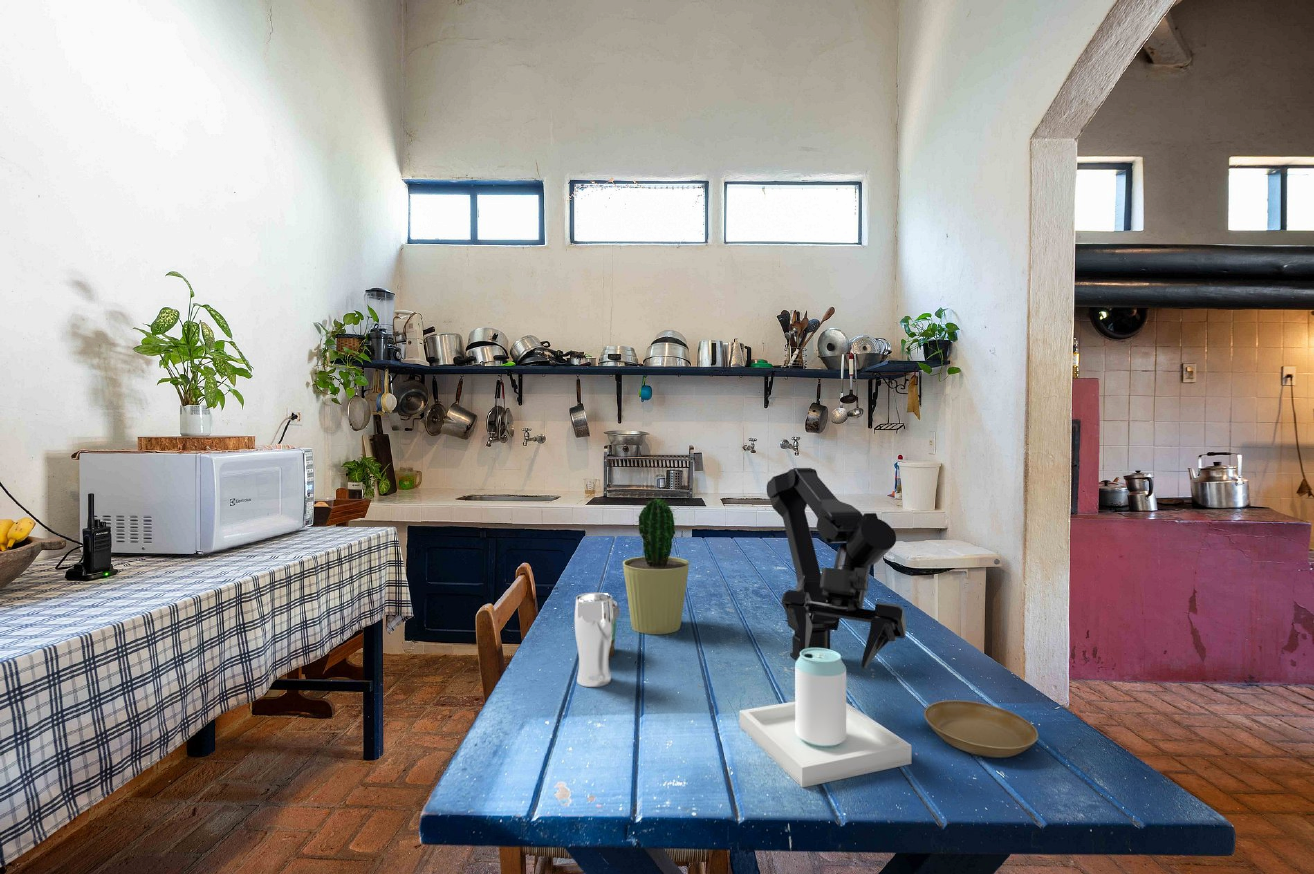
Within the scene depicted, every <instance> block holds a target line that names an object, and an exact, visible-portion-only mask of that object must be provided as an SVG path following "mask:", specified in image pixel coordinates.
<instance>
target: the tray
mask: <svg viewBox="0 0 1314 874" xmlns="http://www.w3.org/2000/svg"><path fill="white" fill-rule="evenodd" d="M738 713H739V719H738V720H739V722H738V723H739V724H738V725H739V726H740V727H741V728H742V729H743V730H744V731H746V733H747V734H748V735H749V736H750V737H751V738H752V739H751V738H750V737H749V736H748V735H747V734H746V733H745V734H746V735H747V736H748V737H749V738H750V739H751V740H752V741H753V742H754V743H755V744H756V745H757V746H759V748H760V749H761V750H762V751H763V752H765V753H766V754H767V756H769V757H770V758H771V759H772V760H773V761H774V762H775V763H776V764H777V765H778V766H779V767H780V768H781V769H783V771H784V772H785V773H786V774H788V776H790V777H791V778H792V780H794V781H795V782H796V783H797V784H798V786H800V787H801V788H807V787H811V786H817V785H820V784H826V783H830V782H834V781H838V780H842V779H843V780H844V779H848V778H853V777H857V776H862V775H867V774H871V773H875V772H880V771H885V770H889V769H895V768H897V767H904V766H908V765H912V744H910V743H908V742H907V741H906V740H904V739H903V738H901V737H899V736H898V735H896V734H895V733H894V732H892V731H890V730H889V729H887V728H886V727H884V726H883V725H881V724H880V723H878V722H877V721H876V720H874V719H873V718H871V717H869V716H868V715H866V714H865V713H863V712H862V711H860V710H858V709H857V708H855V707H854V706H852V705H851V704H849V703H848V702H846V739H845V740H844V741H843V742H842V743H840V744H838V745H837V746H834V747H829V748H823V747H816V746H812V745H810V744H808V743H806V742H804V741H803V740H802V739H801V738H800V737H799V736H798V735H797V734H796V732H795V701H789V702H784V703H778V704H771V705H765V706H759V707H754V708H747V709H741V710H739V712H738ZM740 727H739V728H740ZM741 728H740V729H741ZM742 729H741V730H742ZM743 730H742V731H743ZM744 731H743V732H744Z"/></svg>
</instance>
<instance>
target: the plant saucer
mask: <svg viewBox="0 0 1314 874" xmlns="http://www.w3.org/2000/svg"><path fill="white" fill-rule="evenodd" d="M923 716H924V718H925V720H926V722H927V723H928V725H929V726H930V728H931V729H932V730H933V731H934V732H935V734H937V735H938V736H939V737H940V738H941V739H942V740H943V741H944V742H945V743H947V744H949V745H950V746H952V747H954V748H956V749H958V750H960V751H964V752H966V753H969V754H973V755H976V756H980V757H981V756H982V757H986V758H999V759H1000V758H1011V757H1013V756H1017V755H1019V754H1021V753H1023V752H1024V751H1026V750H1028V749H1029V748H1030V747H1032V746H1033V745H1034V744H1035V743H1036V742H1037V740H1038V739H1039V733H1038V730H1037V728H1036V727H1035V726H1034V725H1033V724H1032V723H1031V722H1030V721H1028V720H1026V719H1025V718H1023V717H1022V716H1021V715H1018V714H1017V713H1014V712H1012V711H1009V710H1007V709H1004V708H1001V707H998V706H994V705H991V704H986V703H981V702H976V701H971V700H970V701H969V700H957V699H956V700H942V701H937V702H933V703H931V704H929V705H928V706H927V707H925V709H924V712H923Z"/></svg>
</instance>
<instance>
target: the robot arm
mask: <svg viewBox="0 0 1314 874" xmlns="http://www.w3.org/2000/svg"><path fill="white" fill-rule="evenodd" d="M766 495H767V497H768V498H769V501H770V503H771V507H772V509H773V510H774V511H775V512H776V513H778V515H779V516H781V517H782V520H783V525H784V530H785V534H786V538H787V542H788V546H789V547H788V548H789V551H790V555H791V559H792V563H793V568H794V571H795V577H796V580H797V585H796V588H795V589H794V590H792V589H788V590H787V591H786V592H784V593H783V595H782V599H781V606H782V607H783V609H784V612H785V615H786V620H787V626H788V627H789V628H791V629H792V630H793V631H794V632H793V633H794V635H792V652H789V656H790V657H791V658H793V659H795V661H797V660H798V658H799V657H800V652H801V651H802V650H804V649H807V648H825V649H830V650H831V631H838V629H839V623H840V621H841V620H840V619H845V620H850V621H857V622H864V623H870V627H869V633H868V637H867V641H866V644H865V647H864V651H863V654H862V658H861V659H862V661H861V668H862V670H867V668H868V667H869V665H870V664H871V663H872V661H873V660H874V658H875V657H876V656H877V654H878V653H879V652H880V651H881V650H882V649H883V648H884V647H885V646H886V645H887V644H888V643H889V642H893V643H894V642H896V640H897V639H905V638H906V635H907V620H906V619H907V618H906V615H905V611H904V609H903V607H902V606H901V604H895V603H894V604H893V603H887V602H880V601H877V602H876V603H875V606H874V609H868V608H864V603H865V598H866V597H867V591H868V589H869V580H870V579H869V576H870V571H871V566H872V565H875V564H877V563H878V562H879V561H881V559H883V557H884V556H885V555H886V554H887V553H889V552H890V550H891V549H892V548H893V547H894V546H895V544H896V542H897V534H896V532H895V530H894V529H893V528H892V527H891V526H890V525H889V523H888V522H886V521H884V520H882V519H881V518H879V517H878V515H877V513H876V512H868V513H867V512H865V513H863V514H862V513H861V511H860V510H858V509H857V508H856V507H854V505H851V504H849V503H846V502H843V501H840V500H839V499H838V498H837V497H836V496H835V494H834V493H832V491H831V489H829V488H828V487H827V485H826V484H825V483H824V482H823V480H821V478H820V477H819V476H818V472H817V470H816V469H814V468H812V467H793V468H792V469H791V468H790V469H789V470H788V471H787V472H784V473H783V472H782V473H781V474H778V475H775V476H772V477H771V479H770V480H768V482H767V483H766ZM807 506H808V508H810V509H811V511H812V512H813V514H814V515H815V517H816V519H817V522H816V529H817V531H818V534H819V535H820V537H821V538H822V540H823V541H824V542H825V543H827V544H840V543H841V545H839V546H838V548H837V552H836V557H835V559H834V560H835V561H834V565H833V568H832V567H822V568H821V569H820V565H819V561H818V557H817V553H816V550H815V546H814V540H813V538H812V537H813V536H812V534H811V530H810V525H809V523H808V518H807V515H806V508H807Z"/></svg>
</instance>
